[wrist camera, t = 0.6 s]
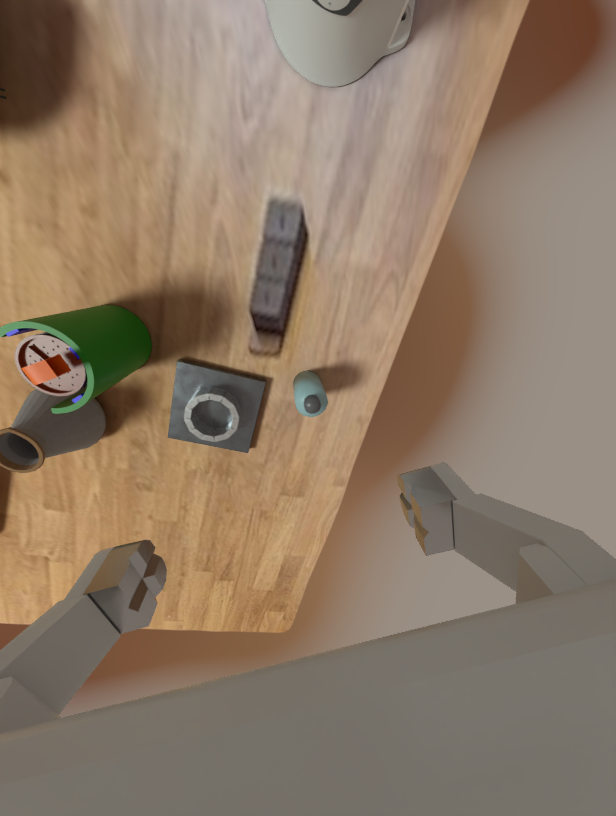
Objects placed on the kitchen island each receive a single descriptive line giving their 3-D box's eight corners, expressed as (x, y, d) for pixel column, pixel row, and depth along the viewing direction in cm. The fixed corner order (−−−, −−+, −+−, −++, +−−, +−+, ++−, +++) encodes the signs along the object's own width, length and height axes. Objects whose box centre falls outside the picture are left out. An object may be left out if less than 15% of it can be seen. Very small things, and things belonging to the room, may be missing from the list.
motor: (71, 322, 44) (-73, 356, 26) (119, 291, 43) (3, 304, 25) (120, 378, 48) (25, 442, 30) (165, 351, 47) (94, 400, 29)
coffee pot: (109, 382, 48) (42, 424, 35) (117, 442, 53) (61, 501, 39) (-41, 367, 46) (-178, 407, 32) (-19, 433, 50) (-130, 493, 37)
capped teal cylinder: (297, 367, 50) (301, 387, 42) (324, 374, 51) (333, 395, 42) (290, 393, 52) (292, 417, 43) (316, 399, 53) (323, 424, 44)
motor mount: (180, 358, 48) (170, 366, 44) (265, 379, 51) (264, 389, 46) (170, 433, 53) (161, 446, 49) (248, 448, 56) (246, 462, 52)
